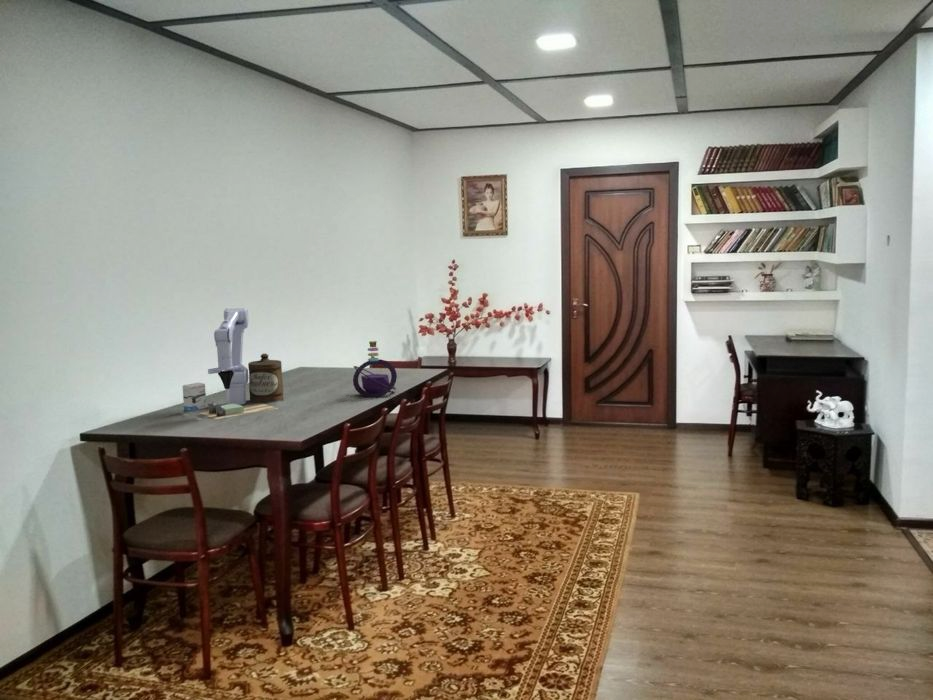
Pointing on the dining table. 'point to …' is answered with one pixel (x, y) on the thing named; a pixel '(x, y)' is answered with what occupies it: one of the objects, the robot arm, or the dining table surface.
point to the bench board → (247, 410)
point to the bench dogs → (216, 409)
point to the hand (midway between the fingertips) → (227, 388)
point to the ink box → (194, 396)
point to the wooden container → (265, 380)
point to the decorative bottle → (374, 377)
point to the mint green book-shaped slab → (233, 409)
